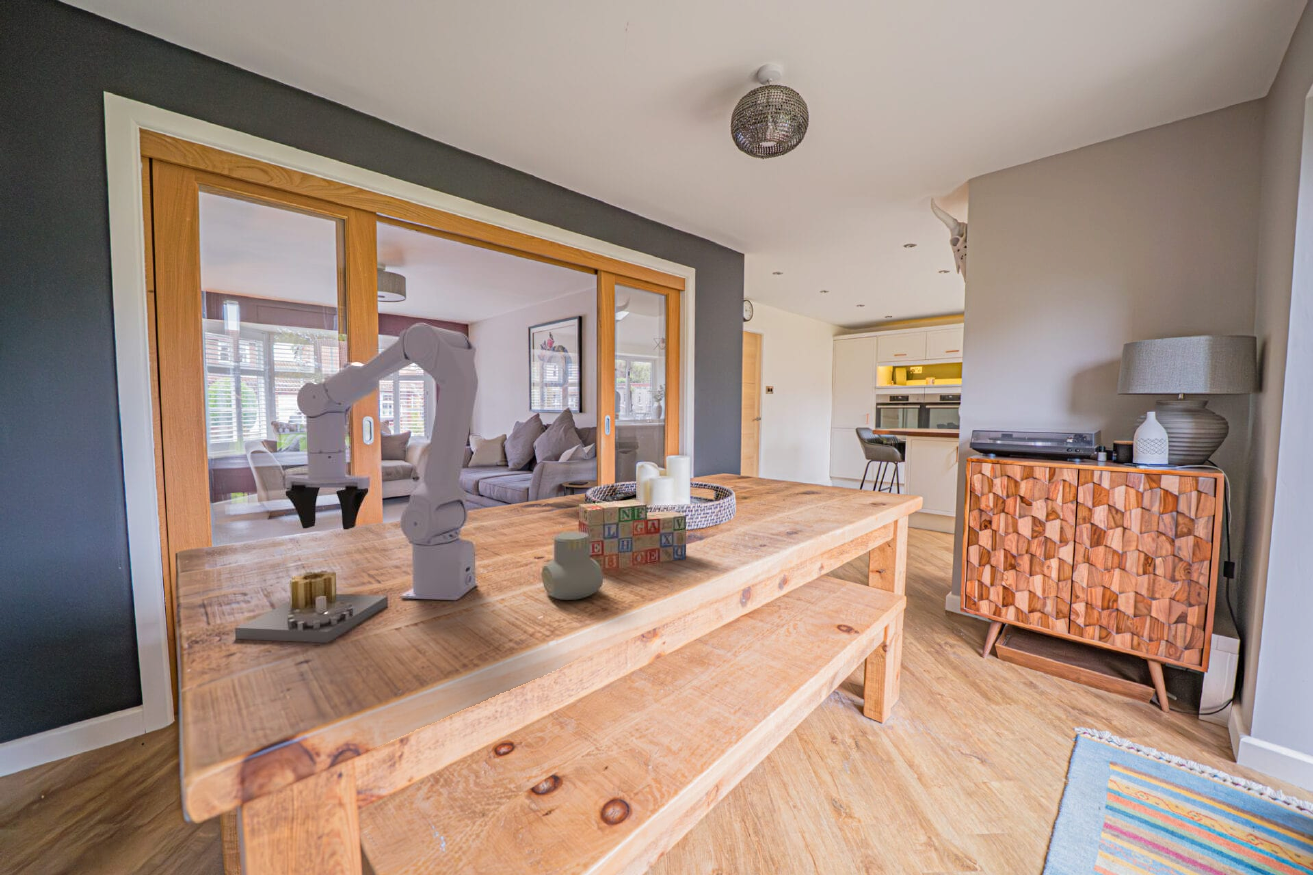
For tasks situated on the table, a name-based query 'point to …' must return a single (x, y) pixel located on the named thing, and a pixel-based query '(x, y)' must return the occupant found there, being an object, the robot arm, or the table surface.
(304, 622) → the gear
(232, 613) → the table surface
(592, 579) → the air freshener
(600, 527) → the stack of blocks
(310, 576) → the brass gear
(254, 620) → the gear board
